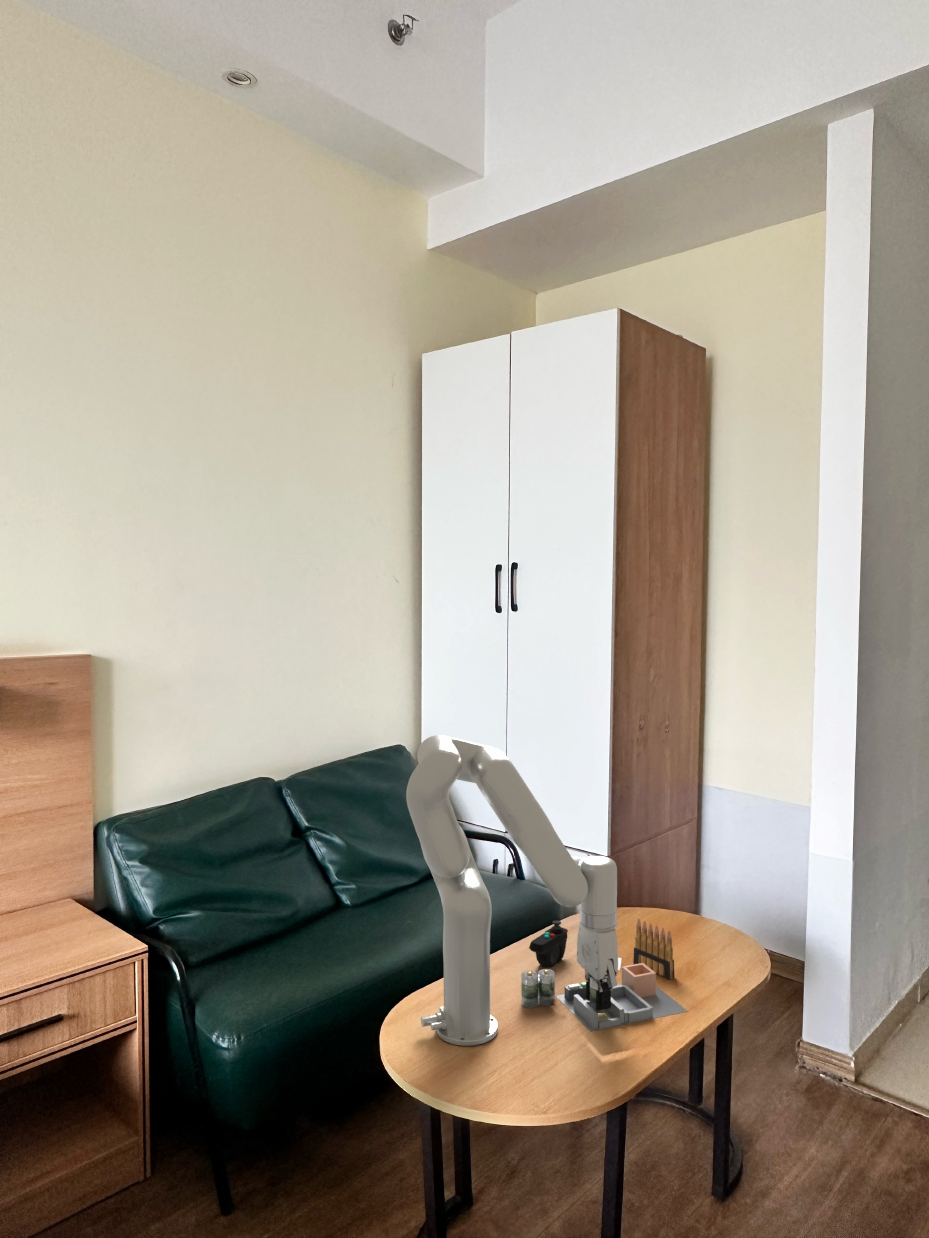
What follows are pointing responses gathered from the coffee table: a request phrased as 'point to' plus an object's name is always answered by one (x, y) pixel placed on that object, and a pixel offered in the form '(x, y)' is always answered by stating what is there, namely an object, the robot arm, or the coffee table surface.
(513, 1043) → the coffee table surface
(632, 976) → the pink hollow box
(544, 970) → the cell
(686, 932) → the coffee table surface
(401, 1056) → the coffee table surface
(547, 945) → the controller
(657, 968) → the ammunition clip
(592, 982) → the cell
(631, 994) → the board
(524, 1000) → the cell
